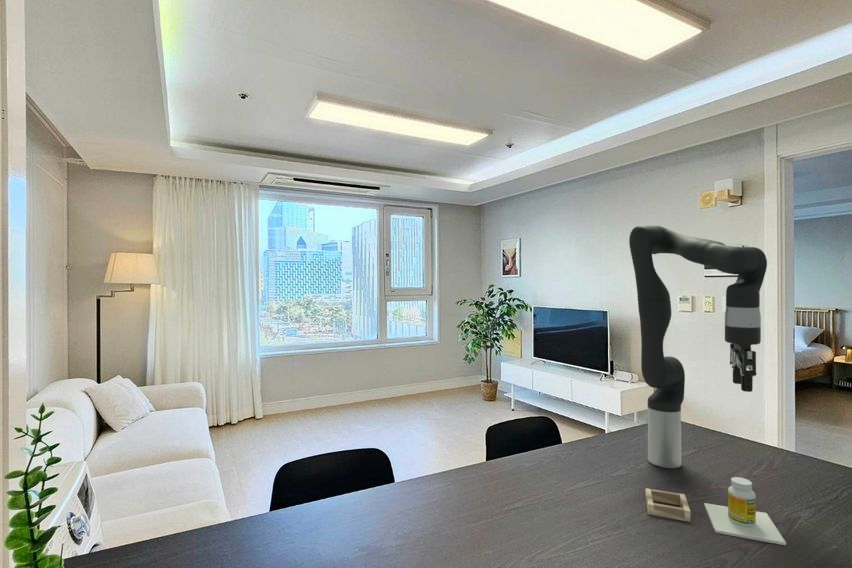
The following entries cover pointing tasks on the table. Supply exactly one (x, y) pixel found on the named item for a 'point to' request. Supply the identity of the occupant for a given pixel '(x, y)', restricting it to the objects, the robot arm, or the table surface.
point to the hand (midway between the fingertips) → (742, 387)
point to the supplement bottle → (741, 502)
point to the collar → (667, 510)
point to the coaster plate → (759, 531)
